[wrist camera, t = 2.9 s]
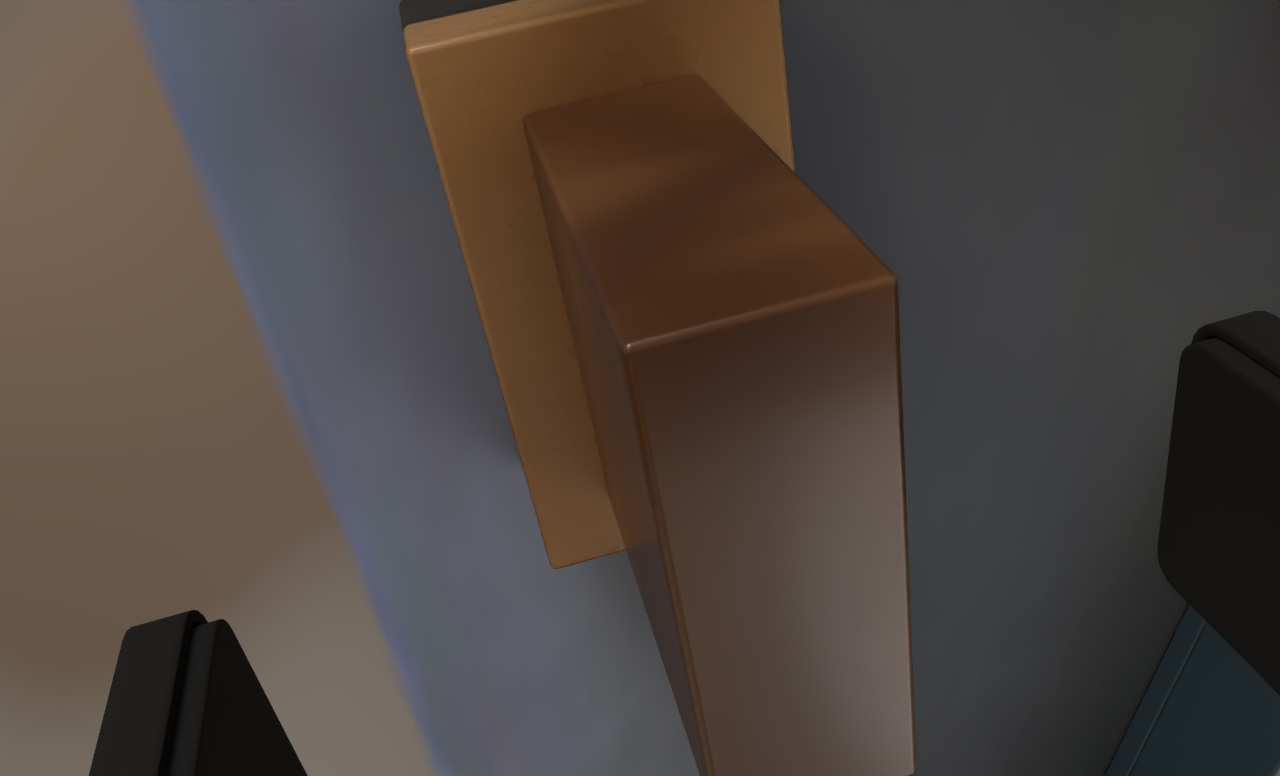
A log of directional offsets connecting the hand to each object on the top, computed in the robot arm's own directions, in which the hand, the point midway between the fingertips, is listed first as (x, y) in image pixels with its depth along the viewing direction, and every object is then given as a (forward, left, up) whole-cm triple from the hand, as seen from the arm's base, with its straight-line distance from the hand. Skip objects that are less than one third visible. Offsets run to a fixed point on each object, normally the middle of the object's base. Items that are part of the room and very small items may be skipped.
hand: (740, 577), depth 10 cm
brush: (0, 0, -8) cm, 8 cm away
